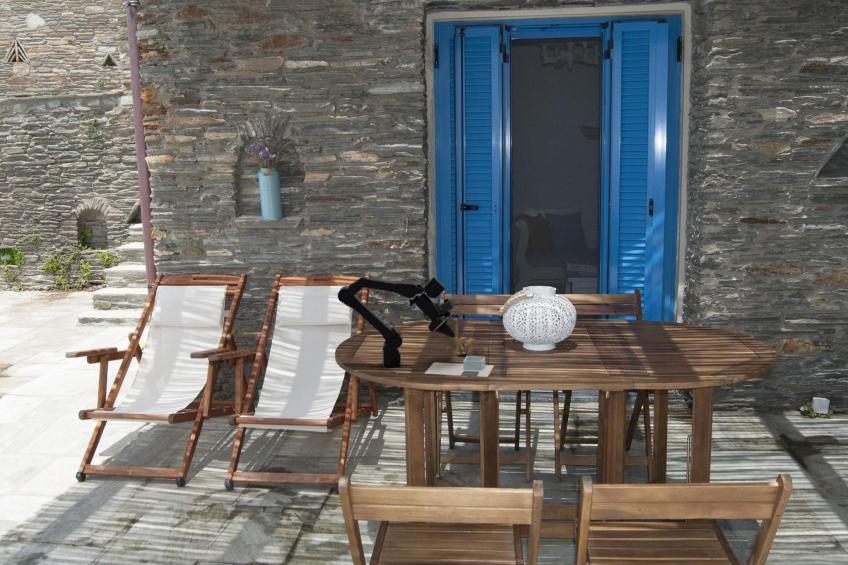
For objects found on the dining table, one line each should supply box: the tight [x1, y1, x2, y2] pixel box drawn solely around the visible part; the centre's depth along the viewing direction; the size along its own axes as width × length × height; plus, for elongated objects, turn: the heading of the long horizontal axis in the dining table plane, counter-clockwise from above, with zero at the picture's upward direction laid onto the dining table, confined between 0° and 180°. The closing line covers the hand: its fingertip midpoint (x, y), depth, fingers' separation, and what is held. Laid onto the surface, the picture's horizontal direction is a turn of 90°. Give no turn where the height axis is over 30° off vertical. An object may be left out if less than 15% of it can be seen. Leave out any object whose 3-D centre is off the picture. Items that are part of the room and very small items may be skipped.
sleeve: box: [462, 355, 486, 371], centre depth 302 cm, size 7×7×4 cm
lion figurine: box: [458, 336, 479, 356], centre depth 323 cm, size 15×5×9 cm, turn 154°
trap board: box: [424, 361, 495, 378], centre depth 300 cm, size 24×16×1 cm, turn 76°
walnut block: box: [445, 317, 459, 354], centre depth 305 cm, size 4×4×13 cm
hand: (455, 335), depth 305 cm, fingers closed on walnut block, 4 cm apart
